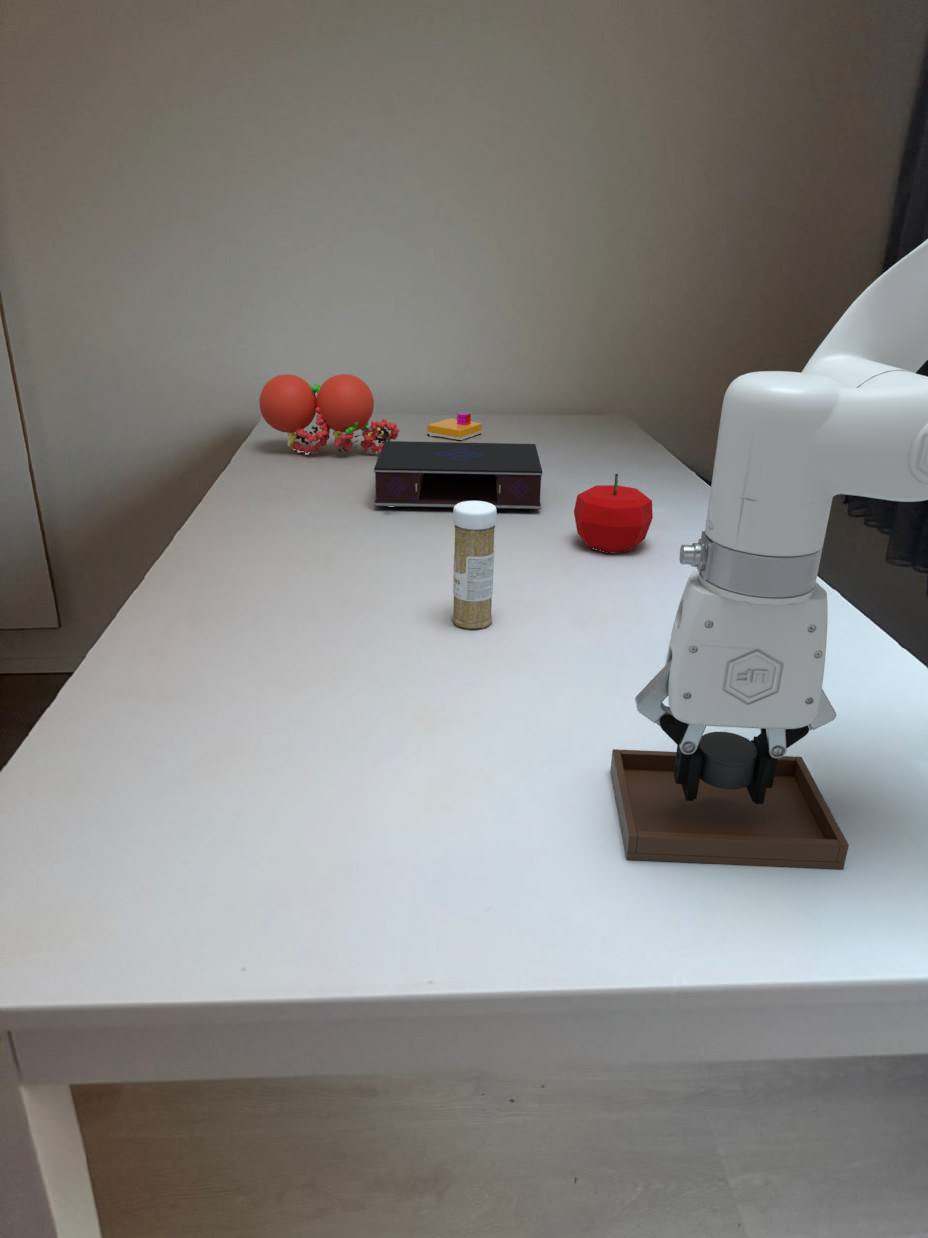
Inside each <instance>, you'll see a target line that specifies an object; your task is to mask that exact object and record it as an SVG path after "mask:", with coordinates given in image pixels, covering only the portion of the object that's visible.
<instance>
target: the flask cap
mask: <svg viewBox="0 0 928 1238" xmlns="http://www.w3.org/2000/svg"><path fill="white" fill-rule="evenodd" d="M699 744H700V746H699V749H700V751H701V753H702V757H703V761H702V768H701V774H700V779H701V780H703V781H704V782H706V783H708V784H710V785H712V786H715V787H718V788H723V789H740V788H744V787H746V786H748V785H749V784H750V783H751V782H752V781H753V777H754V771H755V766H756V760H757V755H758V750H757V747H756V746H755V744H754V743H753V742H751V740H750V739H748V738H747V737H745V736H742V735H740V734H737V733H733V732H728V731H710V732H708V733H707V732H706V733H705V734H703V735H702V738H701V740H700V743H699Z"/></svg>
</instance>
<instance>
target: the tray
mask: <svg viewBox="0 0 928 1238" xmlns="http://www.w3.org/2000/svg"><path fill="white" fill-rule="evenodd" d="M611 751H612V752H611V761H610V769H609V770H610V771H609V772H610V776H611V782H612V787H613V792H614V798H615V804H616V810H617V815H618V820H619V827H620V832H621V837H622V843H623V848H624V853H625V859H626V860H628V861H629V860H632V861H650V862H651V861H654V862H674V863H675V862H676V863H678V862H679V863H694V864H695V863H697V864H719V865H742V866H743V865H744V866H767V867H788V868H789V867H791V868H813V869H835V870H844V868H845V864H846V860H847V855H848V851H849V846H850V845H849V843H848V840H847V839H846V837H845V835H844V833H843V831H842V830H841V828H840V826H839V824H838V822H837V821H836V818H835V816H834V814H833V813H832V811H831V809H830V807H829V805H828V804H827V802H826V800H825V798H824V795H823V794H822V792H821V790H820V788H819V787H818V785H817V782H816V781H815V779H814V778H813V775H812V774H811V771H810V770H809V768H808V766H807V765H806V762H805V760H804V759H803V757H802V756H793V755H792V756H791V755H784V756H783V757H782V758H778V761H777V766H776V771H775V776H774V781H773V786H772V788H766V793H765V799H764V803H763V804H755V802H753V801H752V799H751V797H750V794H749V792H748V790H747V787H744V788H740V789H723V788H718V787H715V786H712V785H710V784H708V783H706V782H704V781H703V780H701V779H700V780H699V787H698V793H697V799H694V801H686V798H685V795H684V792H683V788H682V785H681V784H676V783H675V779H674V765H675V758H676V751H669V750H668V751H664V750H641V749H638V750H637V749H618V748H613V749H612V750H611Z"/></svg>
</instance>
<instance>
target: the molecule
mask: <svg viewBox="0 0 928 1238" xmlns="http://www.w3.org/2000/svg"><path fill="white" fill-rule="evenodd" d="M258 402H259V410H260V414H261V416H262V418H263V420H264V421H265V422H266V423H267V424H268V425H269V426H270V427H272V428H273V429H274V430H276V431H278V432H282V433H287V436H288V437H289V439H288V440H287V447H289V448H291V449H292V448H293V449H296V450H299V451H304V453H305V452H306V453H308V452H311V453H312V452H314V453H316V452H319V453H320V449H321V448H323V447H325V446H327V442H328V441H329V439H330V433H331V430H332V431H333V432H332V436H333V437H334V447H335V448H338V451H339V453H342V449H343V451H345V452H346V453H348V451H350V450H351V448H352V446H353V444H355V443H357V442H359V441H360V440H359V439H356V440H355V441H354V442H352V440H353V438H358V437H359V436H360V434H357V435H354V434H355V432H356V431H357V432H358V431H359V430H360V431H362V433H361V436H362V437H363V440H361V441H360V444H359V445H357V446H355V447H354V448H358V447H359V446H360V447H361V448H362V449H364V450H365V451H369V449H370V451H371V453H372V454H375V452H377V454H378V455H380V452H381V449H382V447H383V444H384V442H385V441H394V440H395V441H396V439H398V437H399V433H400V428H398V424H397V422H389V421H387V419H386V418H382V419H381V421H375V420H372V421H371V422H370V424H371V425H370V426H369V421H370V420H371V418H372V416H373V413H374V408H375V406H374V405H375V400H374V396H373V393H372V391H371V389H370V387H369V386H368V384H366V383H365V381H364V380H362V379H361V378H360V377H358V376H355V375H353V374H346V373H341V374H336V375H333V376H331V377H329V378H328V379H326V380H325V381H324V382H323V383H322V384H321V385H320V384H319V383H315V384H314V386H312V385H311V384H310V383H309V382H308V381H306V380H305V379H304V378H302V377H300V376H298V375H295V374H289V373H288V374H287V373H284V374H279V375H276V376H273V377H272V378H271V379H269V380H268V381H267V382H266V383H265V385H264V386H263V387H262V389H261V391H260V395H259V399H258ZM315 417H316V418H315ZM314 419H316V421H315V425H316V426H314V425H312V426H311V427H310V428H311V430H313V431H309V432H308V431H307V430H305V429H306V428H307V427H309V426H310V424H312V422H313V421H314ZM318 426H319V428H318ZM368 426H369V427H368ZM319 429H320V430H319ZM389 431H390V432H389ZM297 440H300V441H297ZM306 440H307V441H306ZM376 441H377V444H378V445H377V444H376ZM300 442H301V443H300ZM313 442H314V443H315V442H316V443H315V445H312V443H313ZM304 444H305V445H306V446H305V445H304ZM341 448H342V449H341ZM296 450H295V451H296Z"/></svg>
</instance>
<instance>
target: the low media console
mask: <svg viewBox="0 0 928 1238" xmlns="http://www.w3.org/2000/svg"><path fill="white" fill-rule="evenodd" d="M383 442H384V441H383ZM373 472H374V474H375V475H374V477H375V501H374V507H387V506H395V507H404V508H405V507H407V508H412V507H413V508H454V506H455V505H456V504H458V503H460V502H465V501H483V502H488V503H491V504H493V505H494V506H495V507H496V509H506V510H507V509H508V510H510V509H511V510H512V509H514V510H521V509H529V510H542V508H541V505H542V504H541V489H542V488H541V487H542V476H543V469H542V464H541V461H540V457H539V453H538V448H537V445H536V443H513V442H512V443H511V442H510V443H505V442H504V443H503V442H502V443H501V442H460V441H455V442H454V441H451V442H450V441H403V440H402V441H401V440H399V441H398V440H395V441H394V440H390V441H387V440H386V441H385V442H384V444H383V447H382V449H381V452H380V454H378V457H377V460H376V462H375V465H374V468H373Z"/></svg>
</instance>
